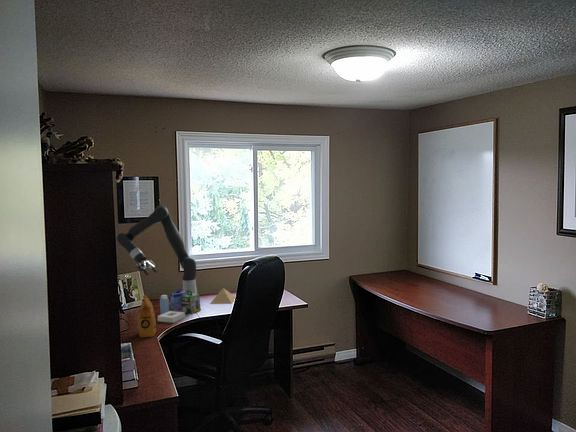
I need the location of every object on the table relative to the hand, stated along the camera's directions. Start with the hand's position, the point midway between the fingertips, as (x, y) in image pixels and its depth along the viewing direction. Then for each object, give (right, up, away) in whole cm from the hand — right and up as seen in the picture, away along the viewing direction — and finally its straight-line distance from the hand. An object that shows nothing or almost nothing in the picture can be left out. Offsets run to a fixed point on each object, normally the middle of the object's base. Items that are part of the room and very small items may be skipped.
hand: (152, 273), depth 304 cm
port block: (+18, -27, -19) cm, 38 cm away
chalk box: (+27, -26, -2) cm, 37 cm away
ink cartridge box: (+17, -26, +3) cm, 31 cm away
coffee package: (+11, -30, -46) cm, 56 cm away
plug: (+10, -27, -7) cm, 29 cm away
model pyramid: (+45, -24, +24) cm, 56 cm away
